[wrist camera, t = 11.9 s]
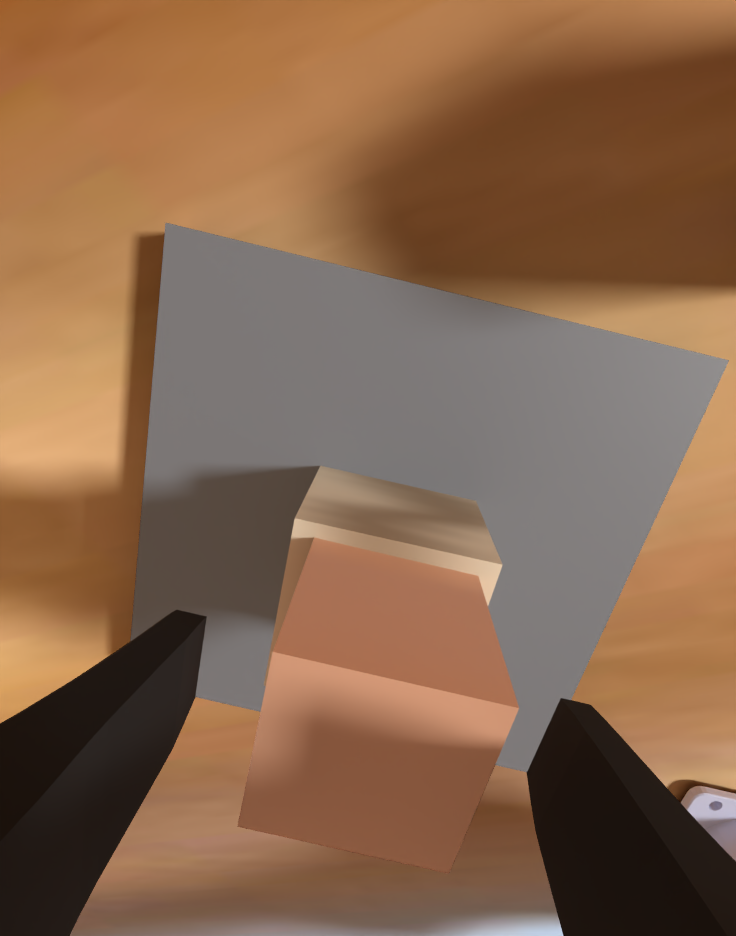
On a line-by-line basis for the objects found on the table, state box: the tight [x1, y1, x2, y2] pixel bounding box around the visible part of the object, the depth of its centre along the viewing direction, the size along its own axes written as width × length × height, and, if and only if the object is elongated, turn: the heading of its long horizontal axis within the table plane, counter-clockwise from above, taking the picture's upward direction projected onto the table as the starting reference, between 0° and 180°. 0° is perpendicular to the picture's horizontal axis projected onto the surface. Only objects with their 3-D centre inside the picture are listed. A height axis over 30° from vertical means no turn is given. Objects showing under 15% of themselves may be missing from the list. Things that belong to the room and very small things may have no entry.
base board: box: [131, 223, 729, 772], centre depth 16 cm, size 16×16×2 cm
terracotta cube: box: [237, 538, 519, 873], centre depth 10 cm, size 4×4×4 cm
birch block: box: [264, 466, 502, 686], centre depth 14 cm, size 5×5×4 cm
